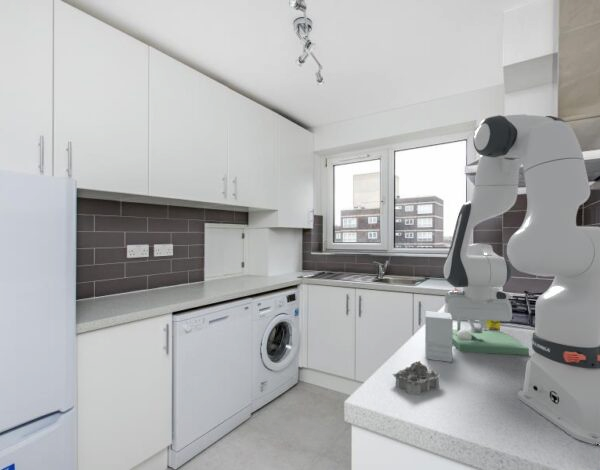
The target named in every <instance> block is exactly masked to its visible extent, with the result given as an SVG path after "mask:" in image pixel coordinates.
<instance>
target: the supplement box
mask: <svg viewBox="0 0 600 470" xmlns="http://www.w3.org/2000/svg"><path fill="white" fill-rule="evenodd" d="M424 320H425V322H424V323H425V325H424V326H425V327H424V328H425V334H424V335H425V338H424V339H425V342H424V343H425V345H424V348H425V349H424V350H425V351H424V352H425V359H427V360H435V361H441V362H449V363H452V362H453V344H452V334H453V330H454V329H453V327H454V325H453V322H454V319H452V317H451V314H450V313H444V312H442V311H441V312H440V311H438V312H437V311H431V310H430V311H429V310H426V311H425V319H424Z"/></svg>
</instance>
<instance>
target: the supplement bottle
mask: <svg viewBox="0 0 600 470" xmlns="http://www.w3.org/2000/svg"><path fill="white" fill-rule="evenodd" d="M483 331H495V332H501V321H486V325H485V327H484V328H483Z"/></svg>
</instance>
